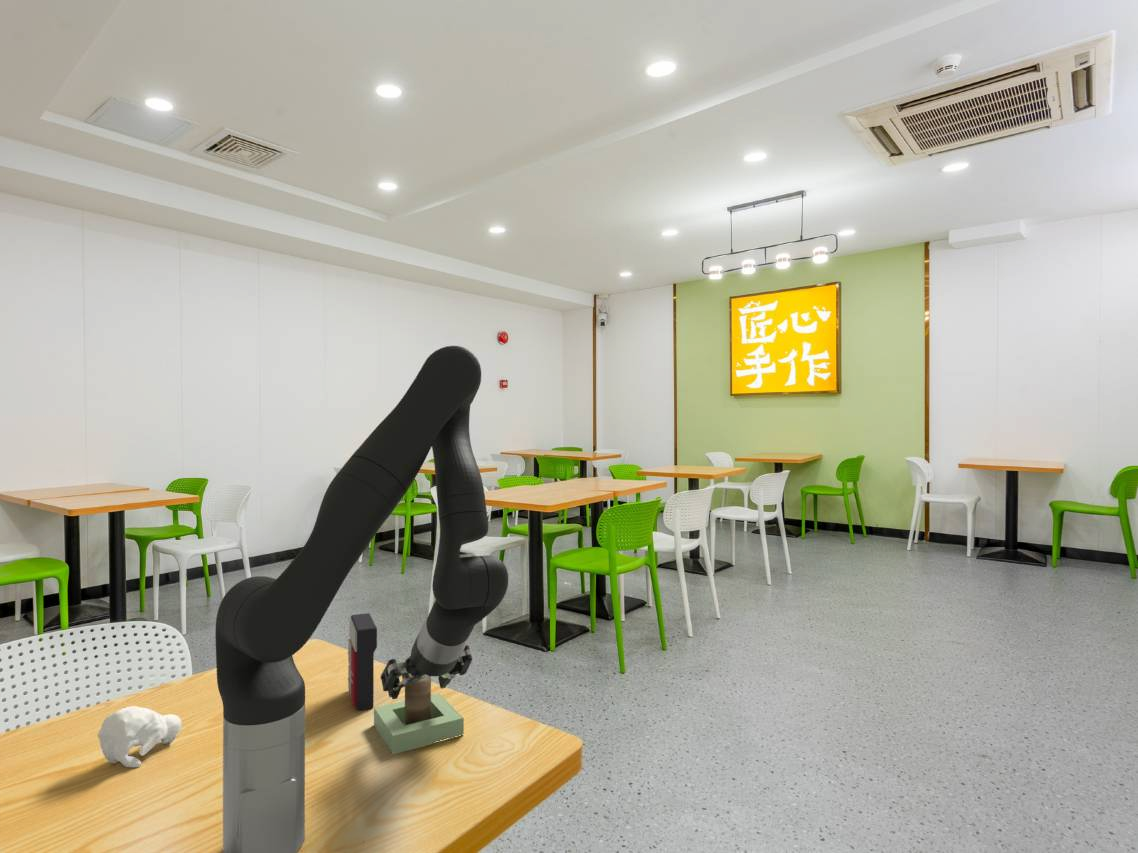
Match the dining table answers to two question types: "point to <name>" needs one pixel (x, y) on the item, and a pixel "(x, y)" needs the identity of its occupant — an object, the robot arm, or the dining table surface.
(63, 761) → the dining table surface
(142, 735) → the white animal figurine
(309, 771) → the dining table surface
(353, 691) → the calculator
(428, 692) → the walnut pin
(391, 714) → the socket block
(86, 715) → the dining table surface
